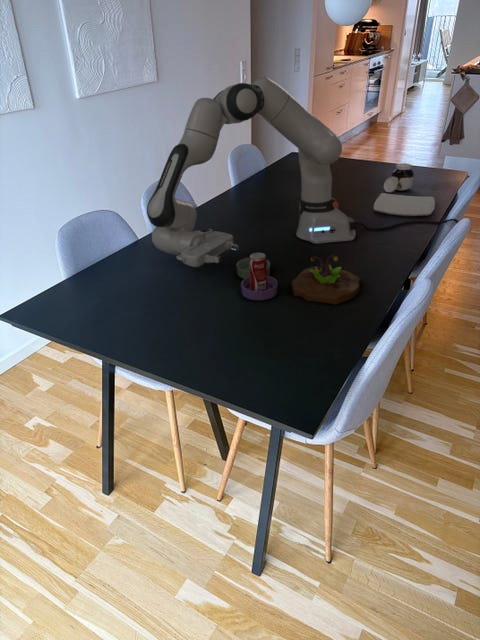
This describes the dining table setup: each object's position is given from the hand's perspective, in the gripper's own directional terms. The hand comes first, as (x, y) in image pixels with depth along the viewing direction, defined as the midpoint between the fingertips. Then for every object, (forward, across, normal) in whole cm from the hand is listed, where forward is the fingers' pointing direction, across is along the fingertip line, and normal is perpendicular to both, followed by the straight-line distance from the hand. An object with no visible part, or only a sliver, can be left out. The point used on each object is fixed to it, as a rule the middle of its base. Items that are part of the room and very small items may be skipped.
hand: (228, 254), depth 148 cm
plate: (+26, +93, +10) cm, 97 cm away
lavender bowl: (+12, -1, +10) cm, 15 cm away
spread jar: (+15, +116, +10) cm, 117 cm away
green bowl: (+3, +10, +10) cm, 14 cm away
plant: (+28, +12, +10) cm, 32 cm away
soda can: (+11, -1, +10) cm, 15 cm away
